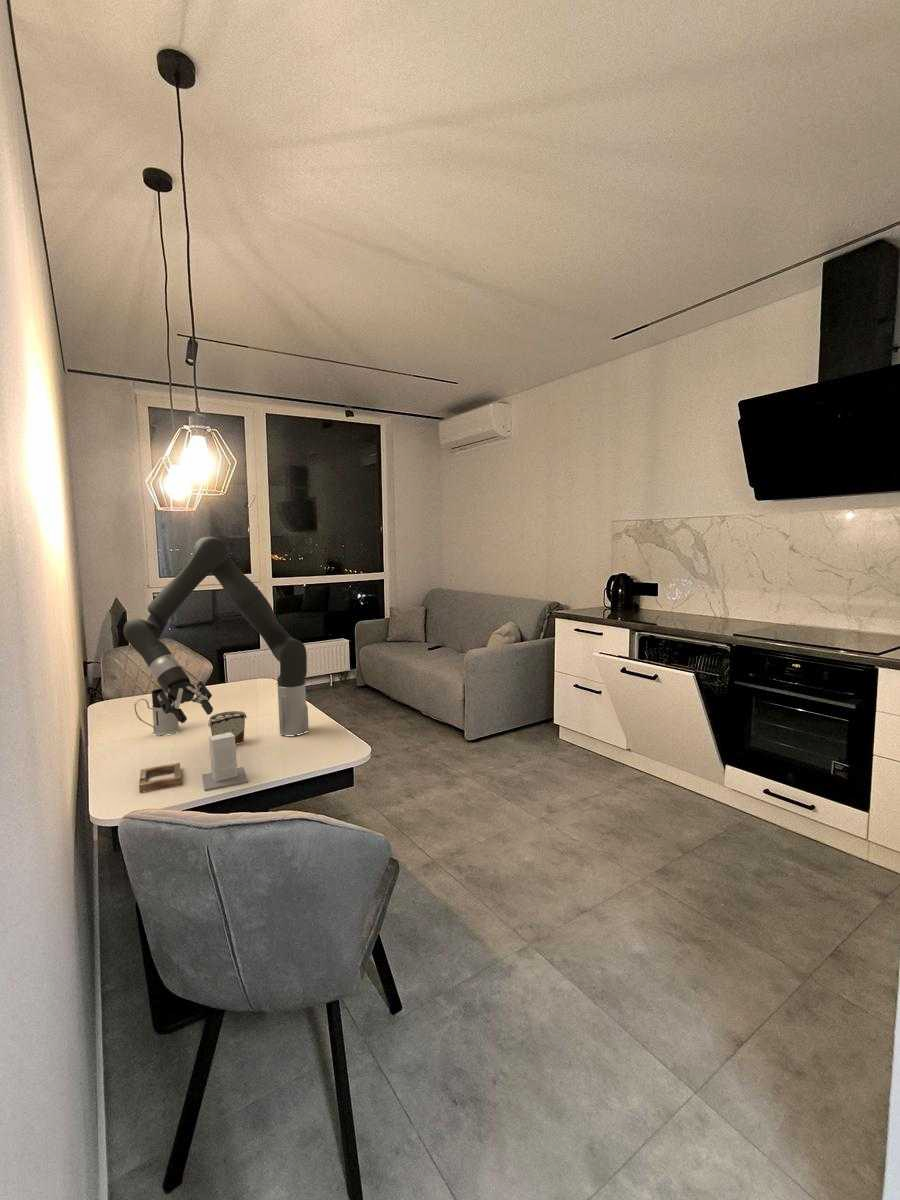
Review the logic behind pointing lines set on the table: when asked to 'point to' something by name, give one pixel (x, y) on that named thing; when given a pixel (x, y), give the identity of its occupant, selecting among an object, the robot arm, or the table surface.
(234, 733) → the food container
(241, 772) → the rubber pad
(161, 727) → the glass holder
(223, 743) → the skincare box
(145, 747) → the table surface
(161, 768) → the walnut holder
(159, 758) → the table surface
